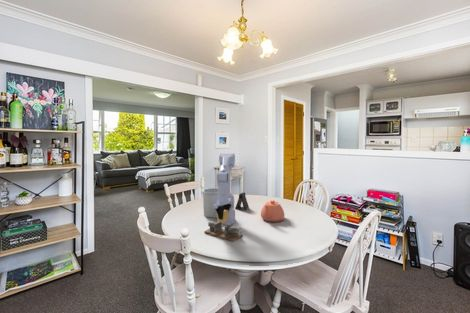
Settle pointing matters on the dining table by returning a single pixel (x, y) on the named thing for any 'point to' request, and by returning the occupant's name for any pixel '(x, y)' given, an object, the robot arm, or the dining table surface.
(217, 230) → the shaft stand
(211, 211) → the utensil holder
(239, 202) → the black a-shaped stand
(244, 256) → the dining table surface
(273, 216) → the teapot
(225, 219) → the coupler block
